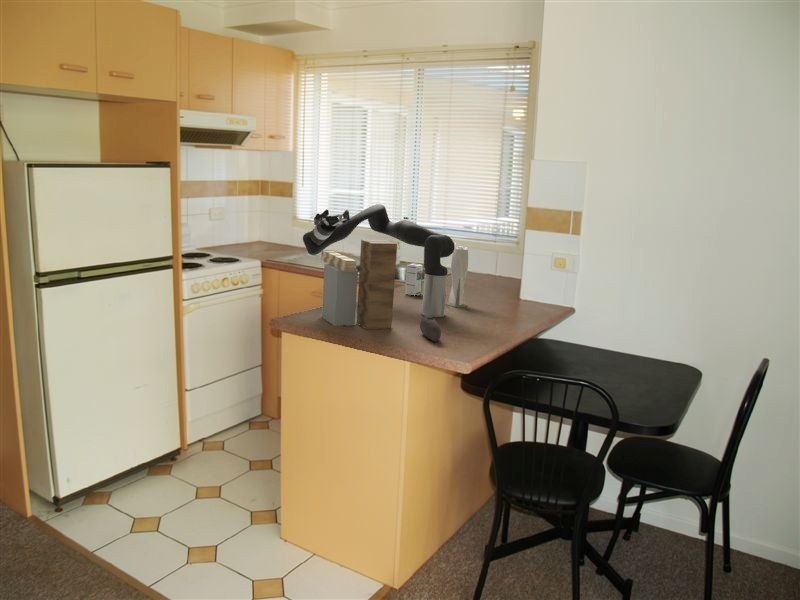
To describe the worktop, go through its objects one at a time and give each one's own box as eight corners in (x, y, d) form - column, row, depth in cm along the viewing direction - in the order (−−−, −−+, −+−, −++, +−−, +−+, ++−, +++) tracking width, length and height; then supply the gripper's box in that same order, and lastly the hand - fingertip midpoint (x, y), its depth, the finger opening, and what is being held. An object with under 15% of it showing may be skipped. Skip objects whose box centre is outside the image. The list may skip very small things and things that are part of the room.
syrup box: (415, 296, 315) (417, 265, 312) (404, 294, 318) (406, 264, 315) (421, 294, 319) (423, 264, 316) (410, 292, 322) (412, 263, 319)
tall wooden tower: (356, 322, 257) (361, 239, 250) (380, 321, 261) (385, 239, 255) (367, 329, 248) (372, 243, 241) (391, 328, 252) (397, 243, 246)
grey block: (322, 317, 262) (324, 264, 257) (341, 316, 265) (343, 263, 261) (334, 326, 250) (337, 270, 245) (354, 325, 253) (357, 270, 249)
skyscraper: (442, 304, 302) (447, 242, 296) (453, 302, 308) (459, 241, 302) (457, 307, 296) (463, 244, 290) (468, 305, 302) (474, 243, 296)
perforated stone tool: (444, 344, 235) (446, 325, 234) (430, 344, 234) (431, 325, 232) (432, 333, 249) (433, 315, 248) (418, 333, 248) (419, 315, 247)
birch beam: (321, 260, 266) (321, 250, 265) (330, 260, 268) (331, 250, 267) (345, 271, 244) (346, 260, 243) (355, 271, 245) (356, 260, 245)
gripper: (307, 219, 282) (319, 202, 269) (338, 220, 289) (352, 203, 275) (309, 236, 280) (322, 219, 267) (341, 236, 287) (355, 220, 273)
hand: (337, 211), depth 271 cm, fingers open, 8 cm apart
